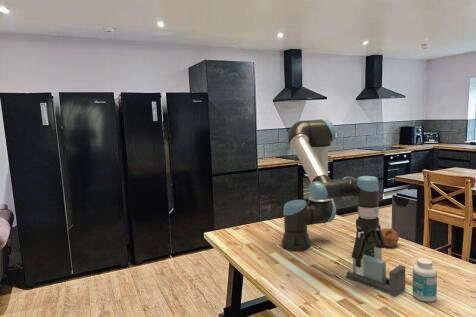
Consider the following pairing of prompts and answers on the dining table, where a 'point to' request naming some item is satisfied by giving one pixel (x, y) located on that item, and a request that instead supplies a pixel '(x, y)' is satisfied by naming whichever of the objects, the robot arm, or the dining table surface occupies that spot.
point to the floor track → (392, 285)
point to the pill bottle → (424, 280)
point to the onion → (389, 237)
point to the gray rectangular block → (373, 268)
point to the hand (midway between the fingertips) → (369, 268)
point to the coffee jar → (370, 246)
